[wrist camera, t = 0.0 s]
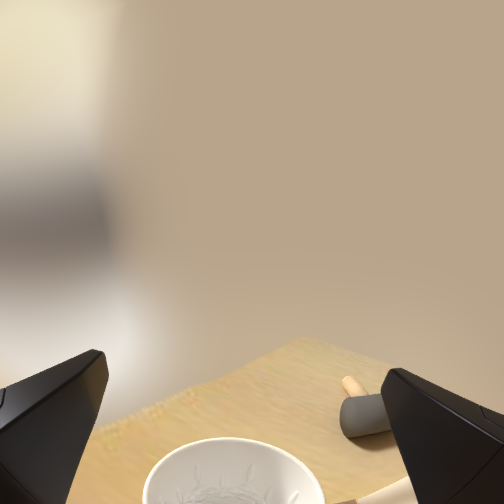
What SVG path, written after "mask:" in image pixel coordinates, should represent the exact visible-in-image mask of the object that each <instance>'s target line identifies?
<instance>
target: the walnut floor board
mask: <svg viewBox="0 0 504 504" xmlns="http://www.w3.org/2000/svg"><path fill="white" fill-rule="evenodd" d="M336 504H357V503H356V500H351V501H346V502H341V503H336Z"/></svg>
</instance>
